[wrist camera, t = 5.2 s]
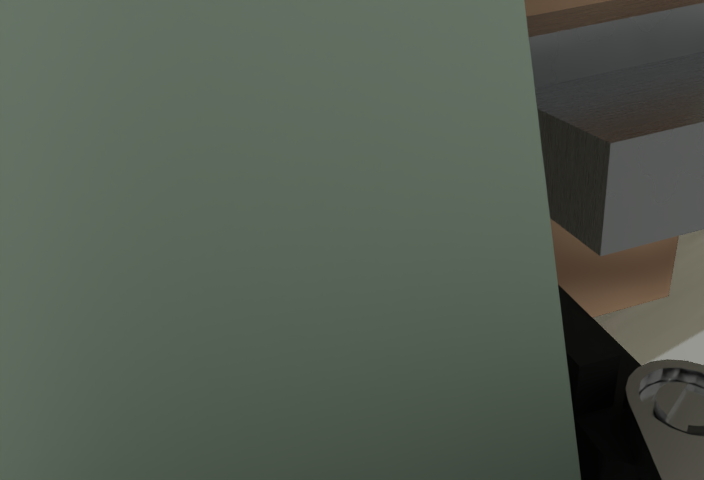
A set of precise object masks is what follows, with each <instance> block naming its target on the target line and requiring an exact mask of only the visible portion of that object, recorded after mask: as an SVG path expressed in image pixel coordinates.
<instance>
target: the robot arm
mask: <svg viewBox="0 0 704 480" xmlns="http://www.w3.org/2000/svg"><path fill="white" fill-rule="evenodd" d="M558 289H559V298H560V306H561V314H562V323H563V331H564V340H565V348H566V357H567V365H568V373H569V382H570V390H571V399H572V407H573V416H574V424H575V433H576V441H577V449H578V458H579V466H580V475H581V480H704V365H701V364H697V363H693V362H689V361H683V360H660V361H653V362H649V363H647V364H645V365H642V366H641V365H640V364H639V363H638V362H637V361H636V360H635V359H634V358H633V357H632V356H631V355H630V354H629V353H628V352H627V351H626V350H625V349H624V348H623V347H622V346H621V345H620V344H619V343H618V342H617V341H616V340H615V339H614V338H613V337H612V336H611V335H610V334H609V333H607V332H606V331H605V330H604V329H603V328H602V327H601V326H600V325H599V324H598V323H597V322H596V321H595V320H594V319H593V318H592V317H591V316H590V315H589V314H588V313H587V312H586V311H585V310H584V309H583V308H582V307H581V306H580V305H579V304H578V303H577V302H576V301H575V300H574V299H573V298H572V297H571V296H570V295H569V294H568V293H567V292H566V291H565V290H564V289H563V288H562V287H561V286H560V285H558Z"/></svg>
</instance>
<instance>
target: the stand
mask: <svg viewBox="0 0 704 480" xmlns="http://www.w3.org/2000/svg"><path fill="white" fill-rule="evenodd" d="M524 2H525V11H526V19H527V28H528V36H529V44H530V53H531V61H532V70H533V78H534V87H535V95H536V103H537V112H538V120H539V129H540V137H541V146H542V154H543V163H544V171H545V179H546V188H547V196H548V205H549V213H550V222H551V230H552V238H553V247H554V255H555V264H556V272H557V281H558V285H560V286H561V287H562V288H563V289H564V290H565V291H566V292H567V293H568V294H569V295H570V296H571V297H572V298H573V299H574V300H575V301H576V302H577V303H578V304H579V305H580V306H581V307H582V308H583V309H584V310H585V311H586V312H587V313H588V314H589V315H590V316H591V317H592V318H593V317H596V316H600V315H603V314H607V313H611V312H614V311H618V310H621V309H625V308H628V307H632V306H635V305H639V304H642V303H646V302H650V301H653V300H657V299H660V298H664V297H667V296H669V291H670V285H671V279H672V273H673V267H674V261H675V255H676V249H677V243H678V237H679V235H683V234H687V233H691V232H694V231H698V230H702V229H704V0H524Z"/></svg>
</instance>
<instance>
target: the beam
mask: <svg viewBox="0 0 704 480" xmlns="http://www.w3.org/2000/svg"><path fill="white" fill-rule="evenodd" d="M0 480H581V475H580V466H579V458H578V449H577V441H576V433H575V424H574V416H573V407H572V399H571V390H570V382H569V373H568V365H567V357H566V348H565V340H564V331H563V323H562V314H561V306H560V298H559V289H558V281H557V272H556V264H555V255H554V247H553V238H552V230H551V222H550V213H549V205H548V196H547V188H546V179H545V171H544V163H543V154H542V146H541V137H540V129H539V120H538V112H537V103H536V95H535V87H534V78H533V70H532V61H531V53H530V44H529V36H528V28H527V19H526V11H525V2H524V0H0Z"/></svg>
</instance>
